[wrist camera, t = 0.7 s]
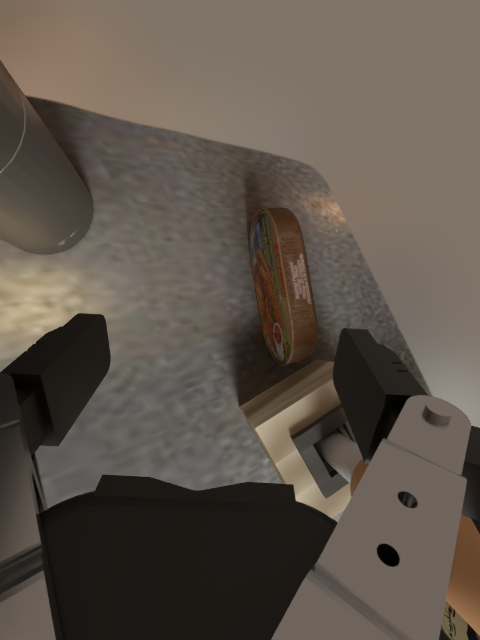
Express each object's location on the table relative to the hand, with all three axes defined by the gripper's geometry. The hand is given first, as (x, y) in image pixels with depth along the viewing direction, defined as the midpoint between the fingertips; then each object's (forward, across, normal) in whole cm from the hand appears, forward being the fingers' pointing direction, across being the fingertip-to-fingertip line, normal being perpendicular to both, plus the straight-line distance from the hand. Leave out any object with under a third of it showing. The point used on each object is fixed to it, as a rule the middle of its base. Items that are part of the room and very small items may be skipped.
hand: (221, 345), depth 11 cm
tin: (+24, -4, +7) cm, 25 cm away
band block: (+18, -8, +19) cm, 27 cm away
